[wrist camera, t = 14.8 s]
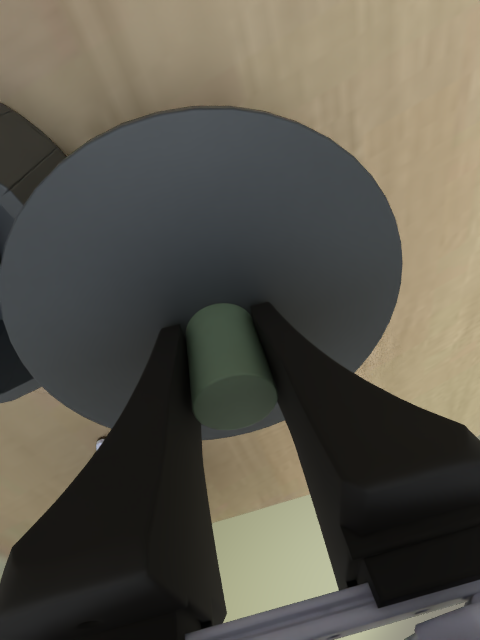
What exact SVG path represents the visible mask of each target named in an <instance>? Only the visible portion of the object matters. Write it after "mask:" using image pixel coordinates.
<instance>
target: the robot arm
mask: <svg viewBox="0 0 480 640" xmlns="http://www.w3.org/2000/svg"><path fill="white" fill-rule="evenodd" d="M250 308H251V313H252V318H253V322H254V325H255V328H256V331H257V334H258V337H259V340H260V343H261V345H262V348H263V350H264V353H265V356H266V358H267V361H268V364H269V367H270V370H271V373H272V376H273V379H274V382H275V385H276V387H277V391H278V399H277V402H278V404H279V407H280V409H281V411H282V414H283V416H284V418H285V421H286V423H287V425H288V428H289V430H290V433H291V436H292V438H293V441H294V444H295V447H296V450H297V453H298V456H299V460H300V463H301V466H302V469H303V472H304V475H305V479H306V482H307V485H308V488H309V492H310V495H311V498H312V501H313V504H314V508H315V511H316V514H317V518H318V521H319V524H320V527H321V531H322V534H323V538H324V541H325V544H326V548H327V551H328V554H329V558H330V561H331V564H332V568H333V571H334V574H335V578H336V581H337V585H338V588H339V591H336V592H332V593H329V594H325V595H322V596H319V597H315V598H311V599H308V600H304V601H301V602H297V603H293V604H290V605H286V606H283V607H279V608H276V609H272V610H269V611H265V612H262V613H258V614H255V615H251V616H247V617H244V618H240V619H237V620H233V621H230V622H226V623H223V621H224V619H225V617H226V614H227V611H226V606H225V601H224V595H223V589H222V583H221V577H220V572H219V567H218V560H217V555H216V548H215V542H214V536H213V529H212V523H211V516H210V509H209V503H208V496H207V489H206V482H205V475H204V467H203V456H202V435H201V423H200V422H199V421H198V420H197V419H196V418H195V416H194V414H193V411H192V402H191V390H190V378H189V367H188V355H187V343H186V340H185V337H184V334H183V332H182V329H181V326H180V324H177V325H173V326H169V327H165V328H162V329H161V330H160V332H159V334H158V337H157V340H156V342H155V345H154V347H153V350H152V352H151V355H150V357H149V360H148V362H147V364H146V366H145V369H144V371H143V373H142V375H141V378H140V380H139V382H138V384H137V386H136V388H135V389H134V391H133V393H132V395H131V397H130V399H129V401H128V403H127V405H126V406H125V408H124V410H123V412H122V413H121V415H120V417H119V418H118V420H117V421H116V423H115V425H114V426H113V428H112V429H111V431H110V432H109V434H108V435H107V437H106V438H105V439H100V440H98V441H97V443H96V452H95V454H94V455H93V457H92V458H91V459H90V461H89V462H88V463H87V464H86V466H85V467H84V468H83V470H82V471H81V472H80V473H79V474H78V476H77V477H76V478H75V479H74V480H73V482H72V483H71V484H70V485H69V487H68V488H67V489H66V490H65V491H64V492H63V494H62V495H61V496H60V497H59V498H58V499H57V500H56V502H55V503H54V504H53V505H52V506H51V507H50V508H49V509H48V510H47V511H46V513H45V514H44V515H43V516H42V517H41V518H40V519H39V520H38V521H37V522H36V523H35V524H34V525H33V526H32V527H31V528H30V529H29V530H28V531H27V533H26V534H25V535H24V536H23V537H22V538H21V539H20V540H19V541H18V542H17V543H16V544H15V545H14V546H13V547H12V549H11V552H10V555H9V557H8V560H7V563H6V566H5V568H4V572H3V575H2V578H1V582H0V640H334V639H338V638H341V637H345V636H348V635H352V634H355V633H359V632H362V631H366V630H369V629H372V628H376V627H380V626H383V625H387V624H390V623H394V622H397V621H401V620H404V619H408V618H411V617H415V616H418V615H422V614H425V613H429V612H432V611H436V610H439V609H443V608H446V607H450V606H453V605H457V604H460V603H463V602H466V603H465V605H464V607H461V608H459V609H456V610H454V611H451V612H448V613H445V614H443V615H440V616H438V617H435V618H432V619H430V620H427V621H425V622H422V623H419V624H417V625H416V627H415V633H414V634H412V635H411V636H409V637H407V638H406V639H404V640H480V440H479V439H478V438H477V437H476V436H475V435H474V434H473V433H472V432H471V431H469V430H468V428H467V427H466V426H465V425H463V424H460V423H458V422H455V421H452V420H450V419H447V418H445V417H442V416H440V415H437V414H435V413H432V412H430V411H427V410H425V409H422V408H420V407H417V406H415V405H413V404H411V403H409V402H407V401H404V400H402V399H400V398H398V397H396V396H394V395H392V394H390V393H388V392H387V391H385V390H383V389H381V388H379V387H377V386H375V385H373V384H371V383H370V382H368V381H366V380H364V379H363V378H361V377H359V376H358V375H356V374H354V373H353V372H351V371H349V370H348V369H346V368H345V367H343V366H342V365H340V364H339V363H337V362H336V361H335V360H333V359H332V358H330V357H329V356H328V355H326V354H325V353H324V352H322V351H321V350H320V349H318V348H317V347H316V346H315V345H313V344H312V343H311V342H310V341H309V340H307V339H306V338H305V337H304V336H303V335H302V334H301V333H299V332H298V331H297V330H296V329H295V328H294V327H293V326H292V325H291V324H290V323H289V322H288V321H287V320H286V319H285V318H284V317H283V316H282V315H281V314H280V313H279V312H278V311H277V310H276V309H275V307H274V306H273V305H272V304H271V303H269V302H265V303H261V304H257V305H253V306H250ZM222 623H223V624H222Z"/></svg>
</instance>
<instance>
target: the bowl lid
mask: <svg viewBox="0 0 480 640" xmlns="http://www.w3.org/2000/svg"><path fill="white" fill-rule="evenodd" d="M401 275H402V250H401V240H400V236H399V232H398V228H397V224H396V220H395V217H394V215H393V212H392V210H391V208H390V205H389V203H388V201H387V198H386V196H385V195H384V193H383V192H382V190H381V189H380V187H379V186H378V184H377V183H376V181H375V180H374V178H373V177H372V175H371V174H370V173H369V172H368V171H367V170H366V169H365V168H364V167H363V166H362V165H361V164H360V163H359V162H358V161H357V159H356V158H355V157H354V156H353V155H351V154H350V153H349V152H347V151H346V150H345V149H343V148H342V147H341V146H339V145H338V144H337V143H335V142H334V141H333V140H331V139H330V138H328V137H326V136H324V135H322V134H320V133H318V132H316V131H314V130H312V129H311V128H309V127H307V126H305V125H303V124H301V123H299V122H297V121H294V120H291V119H288V118H285V117H281V116H278V115H275V114H272V113H269V112H266V111H261V110H254V109H248V108H241V107H235V106H190V107H184V108H178V109H172V110H165V111H159V112H155V113H152V114H149V115H146V116H143V117H140V118H137V119H134V120H131V121H127V122H124V123H122V124H120V125H118V126H116V127H114V128H112V129H110V130H108V131H106V132H104V133H102V134H100V135H98V136H96V137H94V138H92V139H90V140H89V141H87V142H86V143H85V144H83V145H82V146H81V147H79V148H78V149H77V150H75V151H74V152H73V153H71V154H70V155H69V156H67V157H66V158H64V159H63V160H62V161H61V162H60V163H59V164H58V165H57V166H56V167H55V168H54V169H53V170H52V171H51V172H50V173H49V174H48V175H47V176H46V177H45V178H44V180H43V181H42V182H41V183H40V184H39V185H38V186H37V187H36V188H35V189H34V191H33V192H32V194H31V195H30V197H29V198H28V200H27V201H26V203H25V204H24V206H23V207H22V209H21V210H20V212H19V213H18V215H17V217H16V219H15V221H14V224H13V226H12V228H11V231H10V233H9V235H8V238H7V240H6V242H5V247H4V251H3V256H2V260H1V265H0V305H1V311H2V317H3V322H4V324H5V327H6V330H7V333H8V336H9V339H10V342H11V344H12V345H13V347H14V349H15V351H16V353H17V355H18V356H19V358H20V360H21V362H22V363H23V364H24V366H25V367H26V368H27V370H28V371H29V372H30V374H31V375H32V376H33V378H34V379H35V380H36V381H37V382H38V383H39V384H40V385H41V386H42V387H43V388H44V389H45V390H46V391H47V392H48V393H49V394H51V395H52V396H53V397H54V398H56V399H57V400H58V401H60V402H61V403H62V404H64V405H65V406H66V407H68V408H70V409H71V410H73V411H75V412H76V413H78V414H80V415H81V416H83V417H85V418H87V419H89V420H92V421H94V422H96V423H98V424H100V425H103V426H106V427H108V428H111V429H112V428H113V426H114V425H115V423H116V421H117V420H118V418H119V417H120V415H121V413H122V412H123V410H124V408H125V406H126V405H127V403H128V401H129V399H130V397H131V395H132V393H133V391H134V389H135V388H136V386H137V384H138V382H139V380H140V378H141V375H142V373H143V371H144V369H145V366H146V364H147V362H148V360H149V357H150V355H151V352H152V350H153V347H154V345H155V342H156V340H157V337H158V334H159V332H160V330H161V329H162V328H165V327H169V326H173V325H177V324H180V326H181V329H182V332H183V334H184V337H185V340H186V343H187V355H188V367H189V378H190V390H191V402H192V411H193V414H194V416H195V418H196V419H197V420H198V421H199V422H200V423H201V435H202V440H211V439H219V438H226V437H232V436H237V435H241V434H245V433H250V432H253V431H256V430H260V429H263V428H266V427H269V426H271V425H274V424H277V423H279V422H282V421H284V420H285V418H284V416H283V414H282V411H281V409H280V407H279V404H278V402H277V399H278V391H277V387H276V385H275V382H274V379H273V376H272V373H271V370H270V367H269V364H268V361H267V358H266V356H265V353H264V350H263V348H262V345H261V343H260V340H259V337H258V334H257V331H256V328H255V325H254V322H253V318H252V313H251V308H250V306H253V305H257V304H261V303H265V302H269V303H271V304H272V305H273V306H274V307H275V309H276V310H277V311H278V312H279V313H280V314H281V315H282V316H283V317H284V318H285V319H286V320H287V321H288V322H289V323H290V324H291V325H292V326H293V327H294V328H295V329H296V330H297V331H298V332H299V333H301V334H302V335H303V336H304V337H305V338H306V339H307V340H309V341H310V342H311V343H312V344H313V345H315V346H316V347H317V348H318V349H320V350H321V351H322V352H324V353H325V354H326V355H328V356H329V357H330V358H332V359H333V360H335V361H336V362H337V363H339V364H340V365H342V366H343V367H345V368H346V369H348V370H349V371H351V372H353V373H354V372H355V371H356V370H357V369H358V368H359V367H360V366H361V365H362V364H363V362H364V361H365V360H366V359H367V358H368V356H369V355H370V354H371V352H372V351H373V349H374V348H375V346H376V345H377V343H378V342H379V340H380V339H381V337H382V335H383V333H384V331H385V329H386V327H387V325H388V324H389V322H390V319H391V316H392V314H393V311H394V308H395V305H396V303H397V298H398V294H399V289H400V285H401Z"/></svg>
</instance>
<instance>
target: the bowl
mask: <svg viewBox="0 0 480 640" xmlns="http://www.w3.org/2000/svg"><path fill="white" fill-rule="evenodd" d="M64 158H66V156H65V155H64V154H63V152H62V151H61V150H60V149H59V148H58V147H57V146H56V145H55V144H54V143H53V142H52V141H51V140H50V139H49V138H48V137H47V136H46V135H45V134H44V133H43V132H42V131H40V130H39V129H38V128H36V127H35V126H34V125H33V124H31V123H30V122H29V121H27V120H26V119H25V118H24V117H22V116H21V115H19V114H18V113H16V112H15V111H13V110H11V109H10V108H8V107H7V106H5V105H3V104H2V103H0V264H1V260H2V256H3V251H4V247H5V242H6V240H7V238H8V235H9V233H10V231H11V228H12V226H13V224H14V221H15V219H16V217H17V215H18V213H19V212H20V210H21V209H22V207H23V206H24V204H25V203H26V201H27V200H28V198H29V197H30V195H31V194H32V192H33V191H34V189H35V188H36V187H37V186H38V185H39V184H40V183H41V182H42V181H43V180H44V178H45V177H46V176H47V175H48V174H49V173H50V172H51V171H52V170H53V169H54V168H55V167H56V166H57V165H58V164H59V163H60V162H61V161H62V160H63V159H64ZM40 387H42V386H41V385H40V384H39V383H38V382H37V381H36V380H35V379H34V378H33V376H32V375H31V374H30V372H29V371H28V370H27V368H26V367H25V366H24V364H23V363H22V362H21V360H20V358H19V356H18V355H17V353H16V351H15V349H14V347H13V345H12V344H11V342H10V339H9V336H8V333H7V330H6V327H5V324H4V322H3V317H2V311H1V305H0V403H4V402H9V401H12V400H15V399H17V398H19V397H21V396H23V395H25V394H27V393H30V392H32V391H34V390H36V389H38V388H40Z"/></svg>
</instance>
